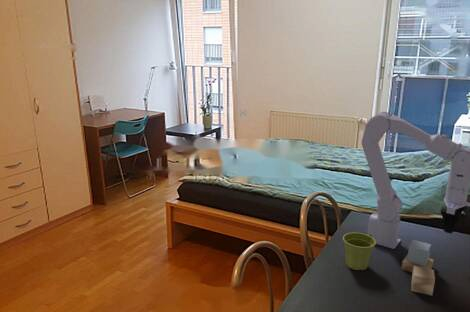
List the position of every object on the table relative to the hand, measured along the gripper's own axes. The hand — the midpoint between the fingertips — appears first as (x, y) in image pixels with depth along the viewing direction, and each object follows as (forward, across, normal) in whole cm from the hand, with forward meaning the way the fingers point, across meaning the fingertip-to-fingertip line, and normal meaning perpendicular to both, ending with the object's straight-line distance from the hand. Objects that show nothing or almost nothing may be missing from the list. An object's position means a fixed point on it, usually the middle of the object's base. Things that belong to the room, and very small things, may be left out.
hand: (450, 228), depth 117 cm
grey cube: (+7, -13, +6) cm, 16 cm away
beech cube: (+10, -23, +2) cm, 25 cm away
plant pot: (+10, -23, +20) cm, 32 cm away
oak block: (+10, -13, +6) cm, 17 cm away
